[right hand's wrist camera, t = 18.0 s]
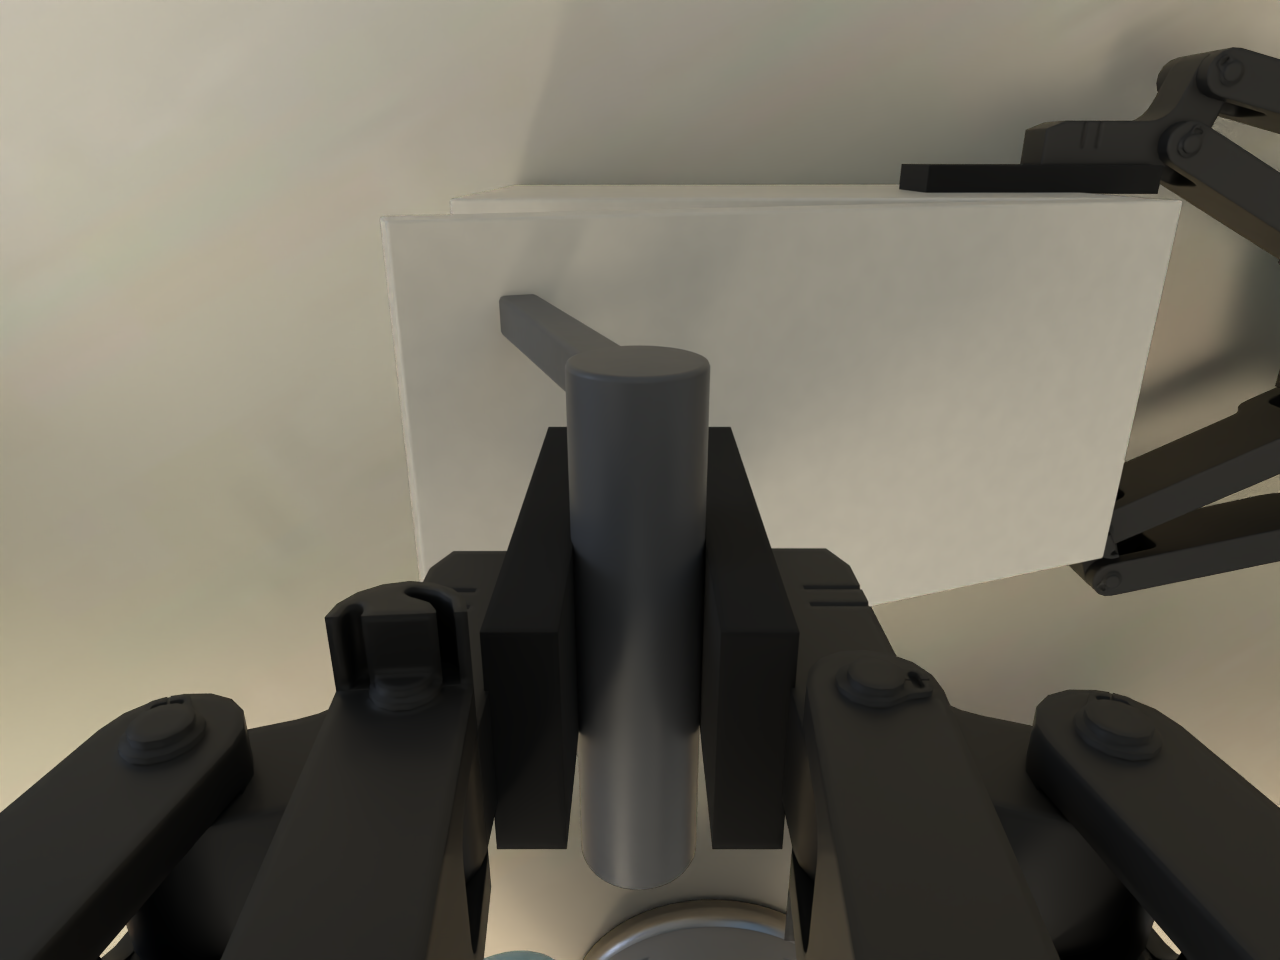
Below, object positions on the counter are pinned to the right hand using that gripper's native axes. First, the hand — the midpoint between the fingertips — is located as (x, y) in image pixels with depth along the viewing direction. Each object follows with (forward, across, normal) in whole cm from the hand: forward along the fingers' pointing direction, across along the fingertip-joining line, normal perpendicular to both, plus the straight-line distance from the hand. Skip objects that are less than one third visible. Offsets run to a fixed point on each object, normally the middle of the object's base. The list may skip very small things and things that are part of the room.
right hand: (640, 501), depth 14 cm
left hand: (+13, -8, 0) cm, 15 cm away
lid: (+5, -4, 0) cm, 6 cm away
